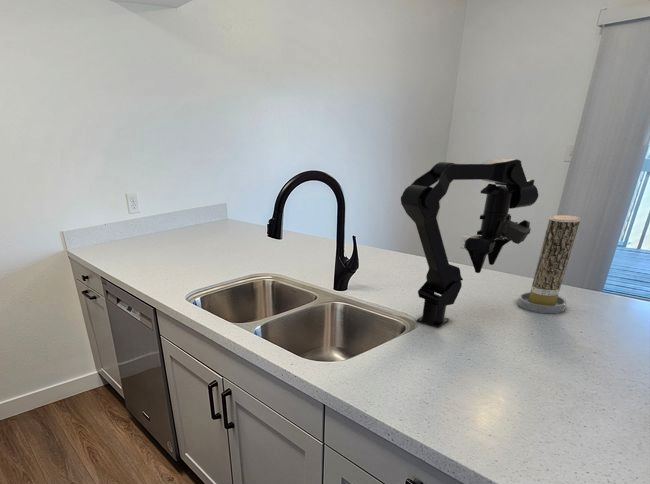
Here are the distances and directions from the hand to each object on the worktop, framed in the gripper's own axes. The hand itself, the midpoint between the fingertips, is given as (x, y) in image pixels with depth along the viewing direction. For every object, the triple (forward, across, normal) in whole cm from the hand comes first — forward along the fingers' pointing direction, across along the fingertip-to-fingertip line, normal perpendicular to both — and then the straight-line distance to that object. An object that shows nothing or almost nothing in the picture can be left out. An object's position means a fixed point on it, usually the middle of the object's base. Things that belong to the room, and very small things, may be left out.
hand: (484, 268), depth 121 cm
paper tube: (+13, +15, -12) cm, 23 cm away
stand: (+13, +16, -12) cm, 24 cm away
